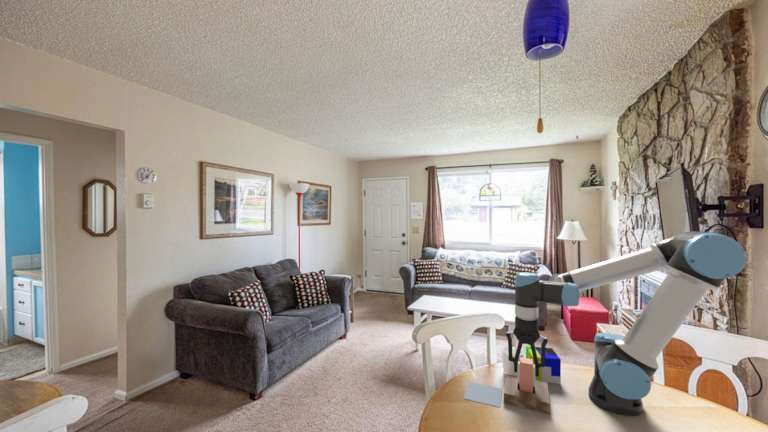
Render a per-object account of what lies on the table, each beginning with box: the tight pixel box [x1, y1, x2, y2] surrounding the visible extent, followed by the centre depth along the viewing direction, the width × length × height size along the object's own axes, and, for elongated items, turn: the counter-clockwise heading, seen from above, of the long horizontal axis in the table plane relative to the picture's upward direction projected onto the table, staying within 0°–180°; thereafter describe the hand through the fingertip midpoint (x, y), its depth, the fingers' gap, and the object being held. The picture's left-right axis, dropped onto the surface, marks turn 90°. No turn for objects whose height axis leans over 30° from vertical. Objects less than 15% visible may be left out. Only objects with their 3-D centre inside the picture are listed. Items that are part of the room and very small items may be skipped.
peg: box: [520, 357, 533, 393], centre depth 109 cm, size 4×4×13 cm
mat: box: [463, 381, 503, 408], centre depth 111 cm, size 12×12×1 cm
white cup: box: [501, 346, 524, 377], centre depth 125 cm, size 8×8×10 cm
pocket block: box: [503, 374, 551, 415], centre depth 109 cm, size 14×14×4 cm
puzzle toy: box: [525, 345, 562, 385], centre depth 124 cm, size 10×10×10 cm
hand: (526, 382), depth 109 cm, fingers closed on peg, 4 cm apart
